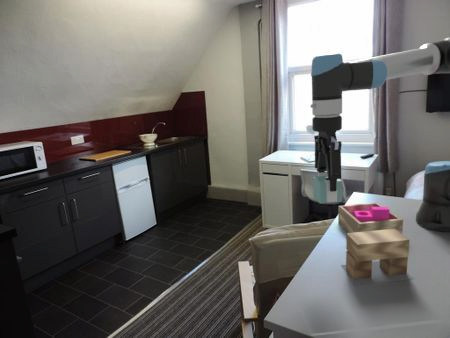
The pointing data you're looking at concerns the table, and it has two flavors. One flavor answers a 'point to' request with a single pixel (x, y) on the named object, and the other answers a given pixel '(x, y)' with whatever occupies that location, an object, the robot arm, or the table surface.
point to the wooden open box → (355, 225)
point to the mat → (378, 275)
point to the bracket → (372, 214)
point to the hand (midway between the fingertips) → (327, 197)
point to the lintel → (377, 245)
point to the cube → (324, 189)
